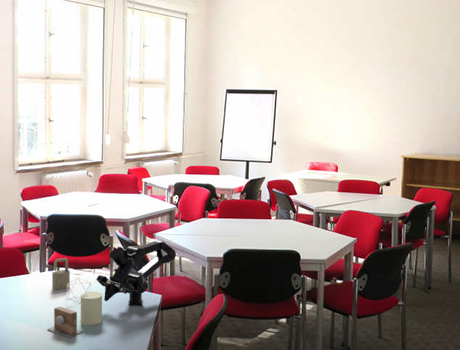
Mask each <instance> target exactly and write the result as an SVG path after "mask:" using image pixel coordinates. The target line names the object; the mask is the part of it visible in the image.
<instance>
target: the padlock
mask: <svg viewBox="0 0 460 350" xmlns="http://www.w3.org/2000/svg"><path fill="white" fill-rule="evenodd" d="M59 262H64V269H61V270H58V263H59ZM53 269H54V272H52V275H51V276H52V279H51V280H52V287H51V288H52V289H53V290H63V289H68V288H69V287H70V285H67V284H68V283H69V284H71V283H70V282H71V281H70V274H71V273H70V270H69V260H68V258H66V257H63V258H57V259H55V260H54V261H53ZM68 286H69V287H68Z"/></svg>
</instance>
